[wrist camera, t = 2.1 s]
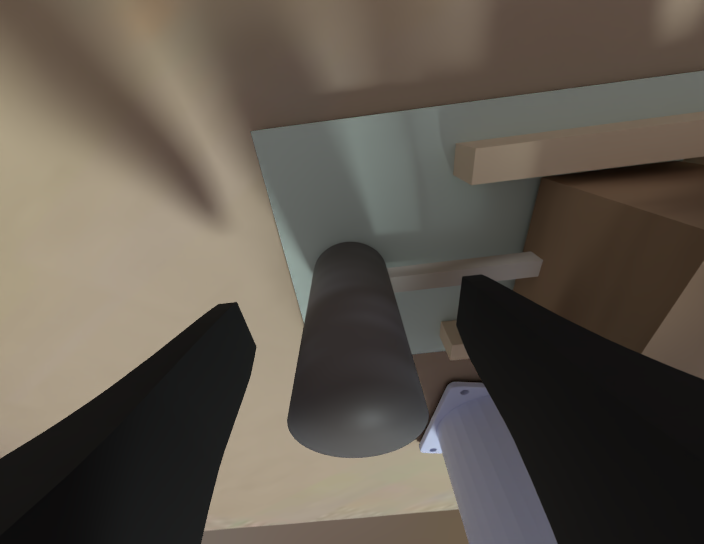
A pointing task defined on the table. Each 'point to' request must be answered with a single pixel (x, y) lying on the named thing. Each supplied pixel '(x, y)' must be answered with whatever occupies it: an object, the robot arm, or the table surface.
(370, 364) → the brown piece
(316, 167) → the lane board
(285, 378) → the table surface
